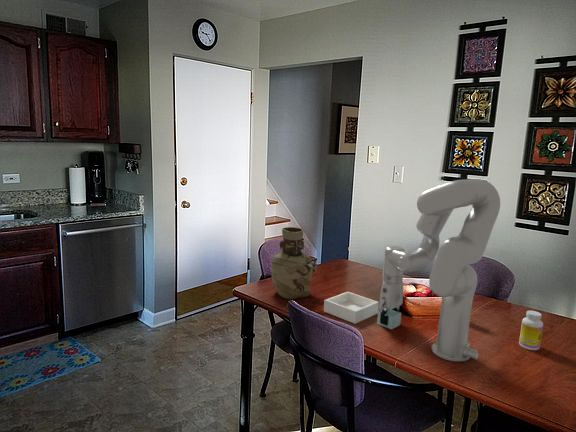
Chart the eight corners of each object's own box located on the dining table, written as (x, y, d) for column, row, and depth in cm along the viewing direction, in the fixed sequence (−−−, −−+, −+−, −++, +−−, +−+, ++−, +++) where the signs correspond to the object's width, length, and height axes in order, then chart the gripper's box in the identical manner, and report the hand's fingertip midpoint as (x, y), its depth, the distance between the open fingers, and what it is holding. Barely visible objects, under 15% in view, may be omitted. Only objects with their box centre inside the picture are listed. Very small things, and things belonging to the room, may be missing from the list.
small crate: (400, 325, 171) (401, 313, 170) (391, 329, 166) (392, 317, 165) (386, 319, 175) (387, 308, 174) (377, 324, 171) (377, 312, 170)
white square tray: (377, 313, 181) (378, 302, 180) (354, 323, 170) (355, 311, 169) (347, 302, 192) (347, 291, 191) (323, 311, 181) (324, 300, 180)
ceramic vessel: (314, 302, 190) (318, 236, 185) (267, 298, 192) (269, 232, 187) (316, 288, 209) (319, 227, 204) (273, 284, 211) (275, 224, 206)
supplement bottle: (539, 352, 152) (544, 318, 150) (518, 347, 155) (522, 313, 153) (540, 345, 158) (545, 312, 155) (519, 340, 161) (524, 307, 159)
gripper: (388, 285, 159) (384, 331, 162) (412, 276, 171) (408, 318, 174) (371, 280, 164) (368, 324, 167) (395, 271, 176) (392, 313, 179)
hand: (388, 321), depth 171 cm, fingers closed on small crate, 6 cm apart
